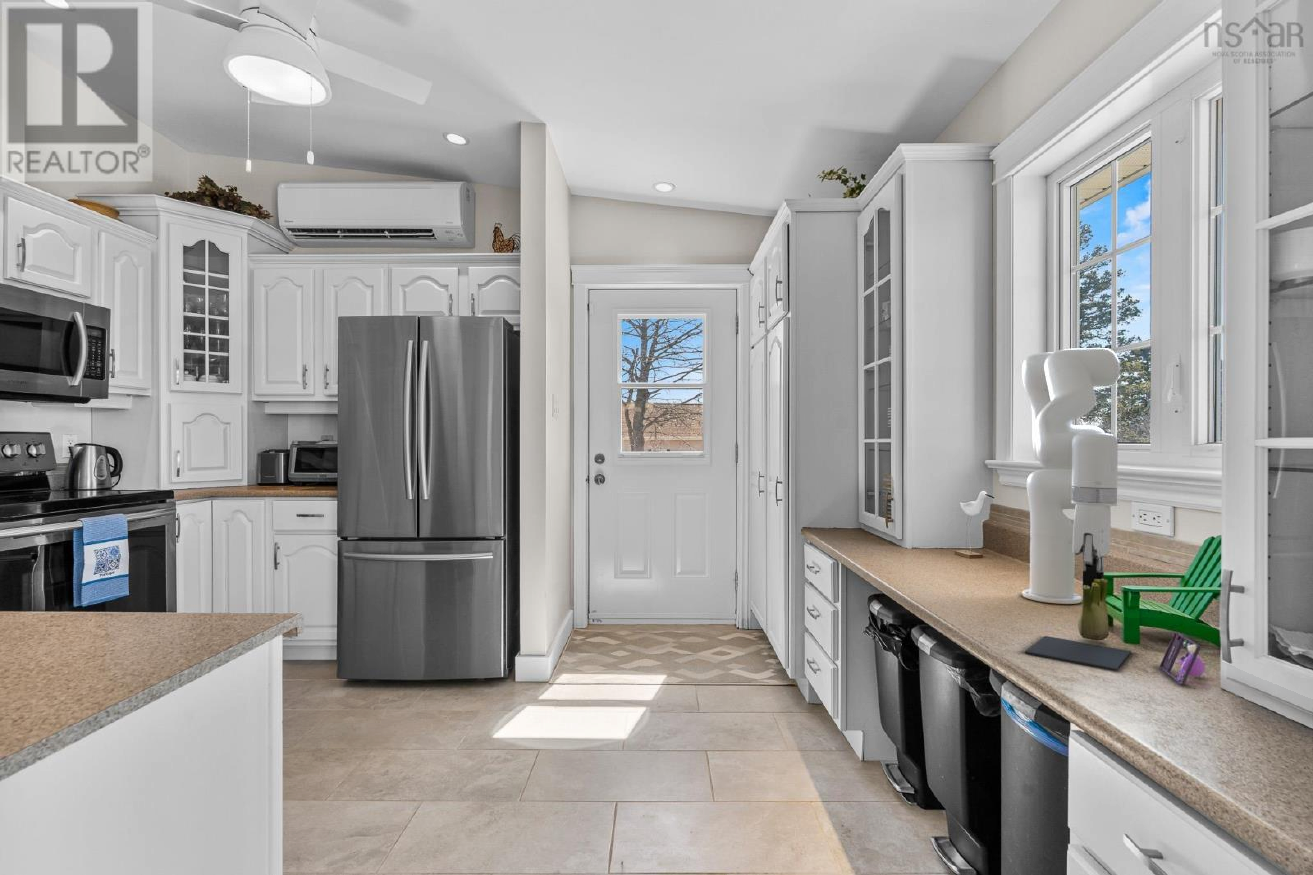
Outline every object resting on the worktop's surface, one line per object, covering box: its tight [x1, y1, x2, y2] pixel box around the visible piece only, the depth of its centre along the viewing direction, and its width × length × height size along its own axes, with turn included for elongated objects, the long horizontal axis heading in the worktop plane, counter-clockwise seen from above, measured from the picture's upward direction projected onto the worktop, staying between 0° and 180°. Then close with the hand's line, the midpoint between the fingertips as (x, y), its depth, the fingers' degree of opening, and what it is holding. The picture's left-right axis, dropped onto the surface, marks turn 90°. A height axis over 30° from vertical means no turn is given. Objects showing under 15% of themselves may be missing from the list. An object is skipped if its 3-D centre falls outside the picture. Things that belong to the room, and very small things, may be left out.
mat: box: [1024, 635, 1132, 672], centre depth 127 cm, size 14×14×1 cm
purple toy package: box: [1159, 630, 1206, 686], centre depth 114 cm, size 7×5×9 cm
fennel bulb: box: [1077, 578, 1110, 642], centre depth 134 cm, size 6×5×12 cm
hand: (1093, 591), depth 136 cm, fingers closed
